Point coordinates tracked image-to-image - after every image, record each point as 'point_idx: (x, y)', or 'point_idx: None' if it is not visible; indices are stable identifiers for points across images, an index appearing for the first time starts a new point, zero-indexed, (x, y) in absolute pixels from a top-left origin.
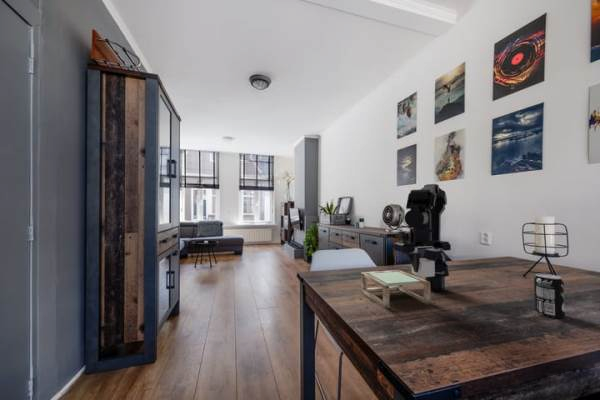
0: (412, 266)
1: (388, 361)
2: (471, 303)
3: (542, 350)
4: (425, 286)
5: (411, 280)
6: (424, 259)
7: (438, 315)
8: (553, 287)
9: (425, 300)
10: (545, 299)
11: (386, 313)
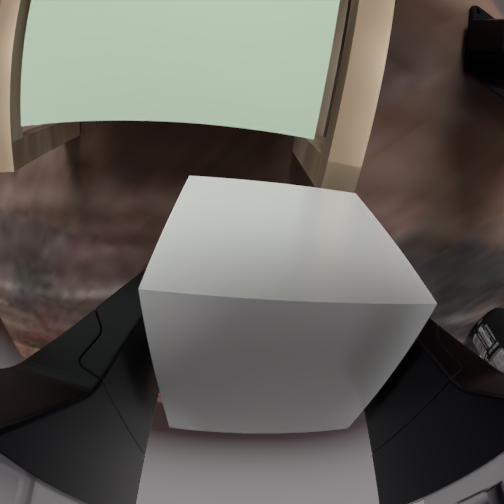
0: (133, 278)
1: (12, 336)
2: (457, 221)
3: None
4: (314, 170)
5: (248, 100)
6: (337, 377)
7: None
8: None
9: (297, 143)
10: (488, 358)
11: (49, 177)
